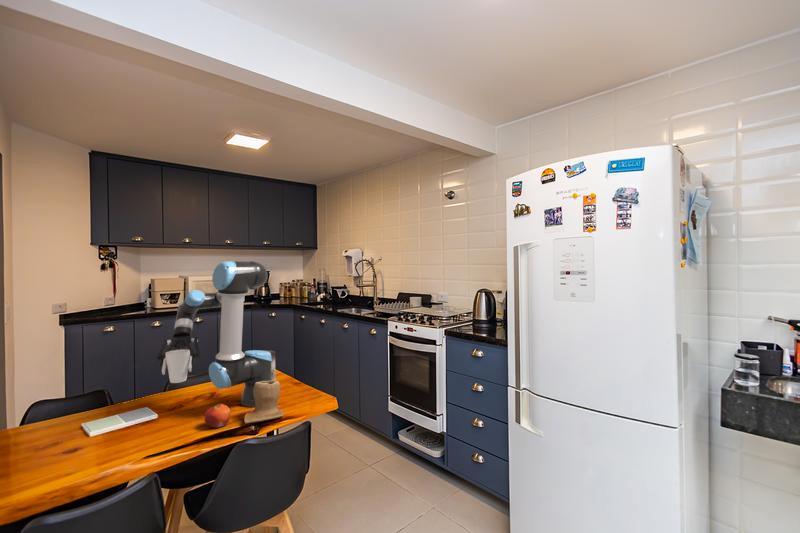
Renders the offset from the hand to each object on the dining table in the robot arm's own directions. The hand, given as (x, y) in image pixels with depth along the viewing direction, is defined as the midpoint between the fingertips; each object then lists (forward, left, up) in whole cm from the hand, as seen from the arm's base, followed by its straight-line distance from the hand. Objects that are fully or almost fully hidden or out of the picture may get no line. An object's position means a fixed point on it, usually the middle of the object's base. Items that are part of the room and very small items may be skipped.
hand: (176, 371), depth 163 cm
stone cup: (-40, -18, -17) cm, 47 cm away
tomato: (-31, -4, -17) cm, 36 cm away
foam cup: (+3, -2, -5) cm, 6 cm away
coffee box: (+6, -46, -17) cm, 49 cm away
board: (+4, +19, -17) cm, 26 cm away
